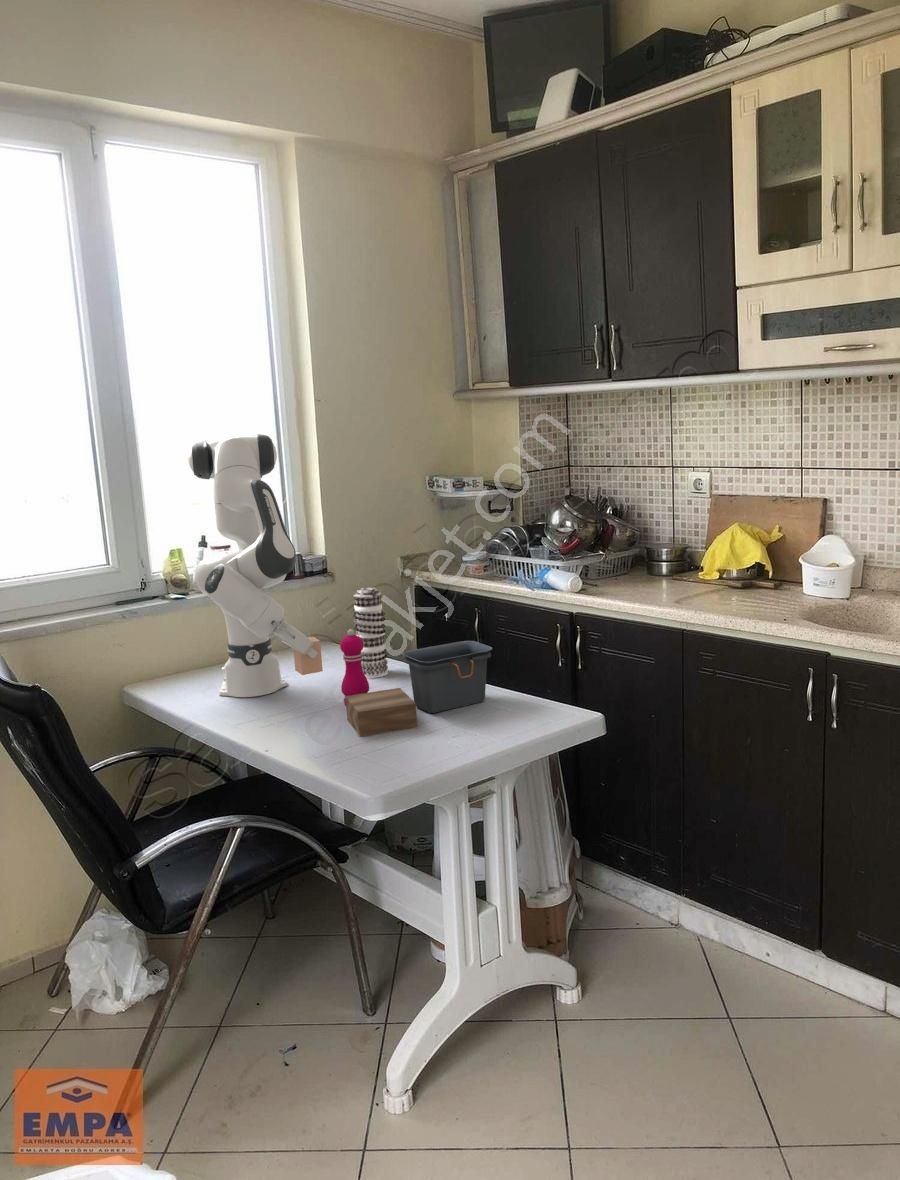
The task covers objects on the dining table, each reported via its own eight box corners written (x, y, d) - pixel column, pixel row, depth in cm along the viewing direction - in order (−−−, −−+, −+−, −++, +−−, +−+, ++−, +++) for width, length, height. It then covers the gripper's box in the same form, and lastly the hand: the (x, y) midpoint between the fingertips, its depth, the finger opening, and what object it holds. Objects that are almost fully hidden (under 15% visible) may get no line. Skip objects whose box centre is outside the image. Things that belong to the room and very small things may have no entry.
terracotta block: (295, 670, 226) (292, 639, 225) (315, 666, 228) (312, 636, 227) (302, 675, 222) (299, 644, 220) (322, 671, 224) (320, 640, 223)
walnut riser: (347, 719, 235) (345, 696, 234) (401, 710, 239) (399, 687, 238) (360, 736, 222) (358, 712, 221) (417, 727, 226) (415, 703, 225)
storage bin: (471, 690, 253) (468, 638, 251) (504, 703, 240) (502, 648, 238) (401, 706, 243) (397, 652, 240) (432, 722, 230) (428, 664, 227)
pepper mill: (366, 708, 243) (360, 632, 239) (339, 708, 244) (332, 632, 240) (373, 700, 250) (368, 625, 246) (347, 699, 251) (341, 626, 247)
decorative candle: (351, 674, 276) (344, 589, 271) (378, 667, 281) (372, 584, 276) (368, 680, 268) (361, 593, 264) (395, 673, 274) (389, 588, 269)
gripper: (289, 615, 210) (334, 650, 216) (261, 600, 227) (303, 633, 234) (271, 638, 208) (317, 673, 215) (244, 621, 226) (287, 654, 233)
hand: (309, 652), depth 225 cm, fingers closed on terracotta block, 5 cm apart
